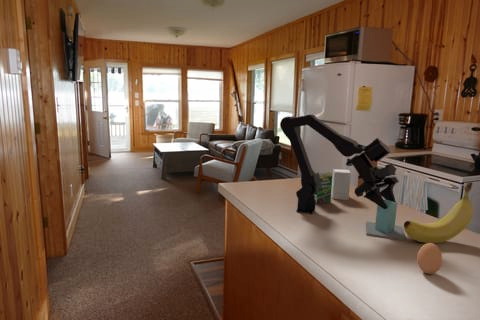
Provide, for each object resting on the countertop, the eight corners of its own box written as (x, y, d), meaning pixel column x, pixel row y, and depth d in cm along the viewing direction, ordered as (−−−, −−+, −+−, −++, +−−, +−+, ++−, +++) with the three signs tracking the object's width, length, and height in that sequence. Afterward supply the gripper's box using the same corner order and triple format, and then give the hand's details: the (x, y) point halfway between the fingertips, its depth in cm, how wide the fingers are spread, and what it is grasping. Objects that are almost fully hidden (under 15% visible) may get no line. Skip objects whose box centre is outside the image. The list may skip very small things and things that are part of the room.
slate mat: (366, 234, 115) (366, 233, 115) (365, 223, 126) (366, 221, 126) (405, 240, 111) (405, 238, 111) (401, 227, 122) (401, 226, 122)
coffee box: (316, 204, 147) (318, 174, 144) (312, 202, 149) (314, 173, 147) (331, 202, 150) (333, 173, 148) (326, 200, 153) (329, 172, 150)
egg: (429, 280, 87) (434, 249, 86) (410, 269, 92) (414, 240, 91) (445, 276, 89) (449, 246, 88) (425, 266, 94) (429, 237, 93)
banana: (407, 246, 107) (415, 184, 103) (397, 238, 113) (404, 180, 109) (472, 244, 110) (482, 184, 106) (459, 236, 116) (467, 179, 112)
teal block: (374, 228, 119) (377, 201, 117) (382, 226, 122) (385, 199, 120) (386, 233, 116) (390, 204, 114) (394, 230, 118) (397, 202, 116)
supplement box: (348, 200, 154) (351, 173, 152) (331, 198, 156) (334, 171, 153) (347, 195, 161) (349, 169, 159) (331, 194, 163) (333, 168, 161)
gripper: (365, 158, 112) (393, 199, 105) (396, 154, 123) (423, 191, 116) (343, 177, 119) (368, 216, 113) (374, 171, 130) (398, 207, 124)
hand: (390, 207), depth 116 cm, fingers open, 5 cm apart
